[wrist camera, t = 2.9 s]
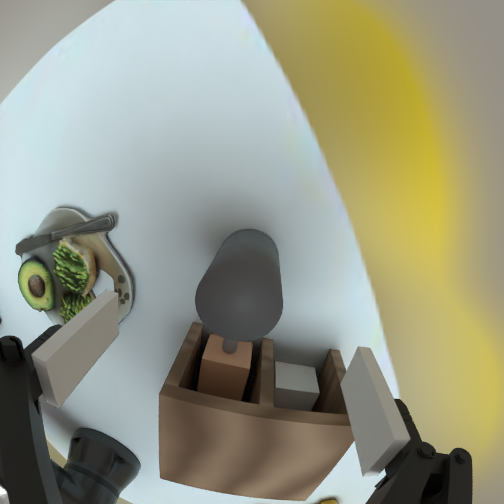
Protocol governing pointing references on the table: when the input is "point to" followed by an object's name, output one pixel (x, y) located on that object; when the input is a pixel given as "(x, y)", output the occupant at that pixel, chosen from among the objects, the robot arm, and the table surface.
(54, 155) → the table surface
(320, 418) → the lane shelf
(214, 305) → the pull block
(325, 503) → the dumbbell
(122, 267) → the avocado toast plate
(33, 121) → the table surface
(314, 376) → the grey lane block
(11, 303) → the table surface
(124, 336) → the table surface
